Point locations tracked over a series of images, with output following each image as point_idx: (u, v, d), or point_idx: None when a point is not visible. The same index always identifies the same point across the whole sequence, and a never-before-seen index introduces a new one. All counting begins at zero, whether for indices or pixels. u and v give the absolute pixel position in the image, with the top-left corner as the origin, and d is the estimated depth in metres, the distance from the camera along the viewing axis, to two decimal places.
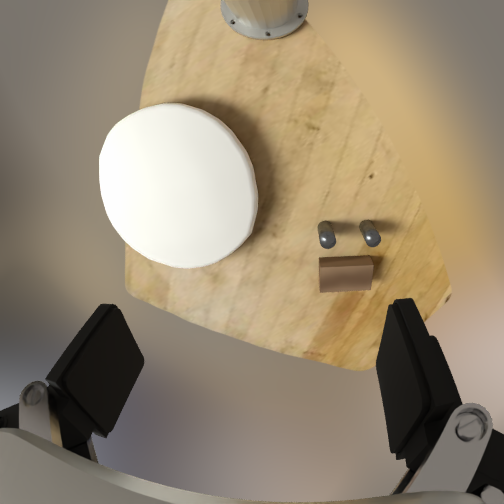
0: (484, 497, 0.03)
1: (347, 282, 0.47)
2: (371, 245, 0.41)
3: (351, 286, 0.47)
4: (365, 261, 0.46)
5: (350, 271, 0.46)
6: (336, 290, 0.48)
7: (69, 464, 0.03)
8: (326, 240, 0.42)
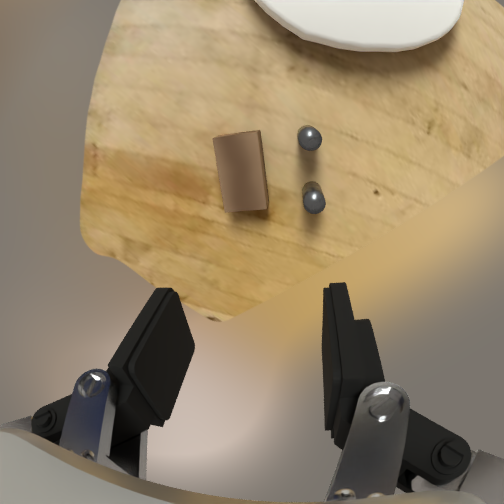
0: (415, 487, 0.04)
1: (235, 175, 0.32)
2: (306, 201, 0.31)
3: (228, 183, 0.33)
4: (266, 196, 0.34)
5: (253, 177, 0.32)
6: (219, 162, 0.32)
7: (69, 464, 0.03)
8: (311, 137, 0.27)
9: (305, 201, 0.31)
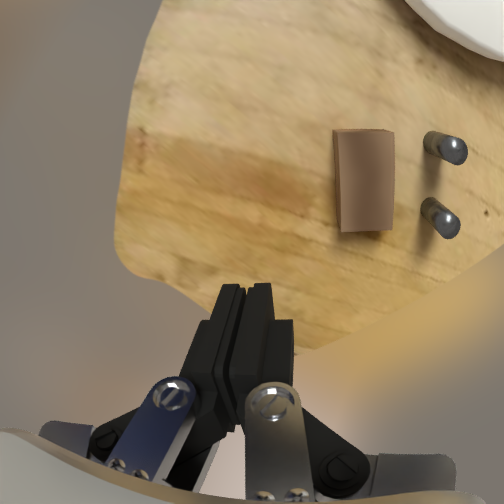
0: None
1: (361, 185, 0.23)
2: (442, 225, 0.22)
3: (351, 194, 0.24)
4: None
5: (383, 189, 0.23)
6: (343, 165, 0.23)
7: (69, 464, 0.03)
8: (458, 149, 0.18)
9: (442, 224, 0.22)
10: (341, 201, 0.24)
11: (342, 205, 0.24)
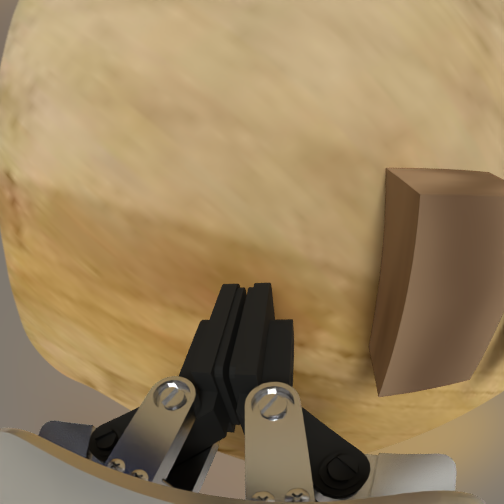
0: None
1: (445, 322, 0.08)
2: None
3: (418, 340, 0.09)
4: None
5: (482, 322, 0.08)
6: (418, 284, 0.08)
7: (69, 464, 0.03)
8: None
9: None
10: (393, 353, 0.09)
11: (393, 360, 0.10)
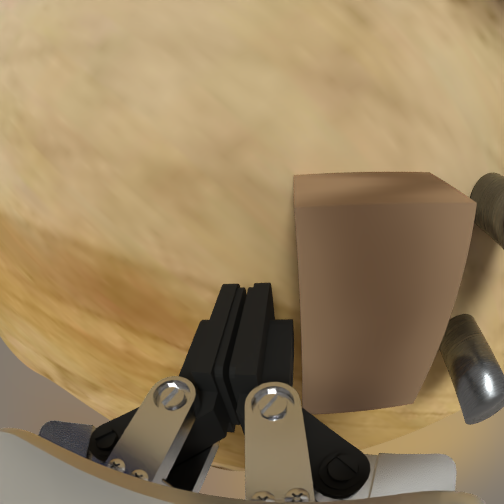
0: (317, 494, 0.05)
1: (360, 346, 0.08)
2: (475, 411, 0.07)
3: (330, 363, 0.09)
4: None
5: (414, 346, 0.08)
6: (312, 305, 0.08)
7: (69, 464, 0.03)
8: None
9: (474, 410, 0.07)
10: (304, 374, 0.09)
11: (306, 381, 0.10)
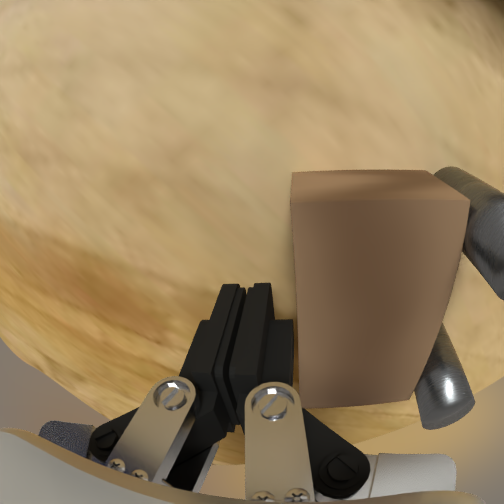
0: None
1: (356, 340, 0.09)
2: (431, 416, 0.08)
3: (326, 356, 0.09)
4: None
5: (409, 341, 0.09)
6: (309, 298, 0.08)
7: (69, 464, 0.03)
8: None
9: (430, 415, 0.08)
10: (300, 367, 0.10)
11: (302, 374, 0.10)
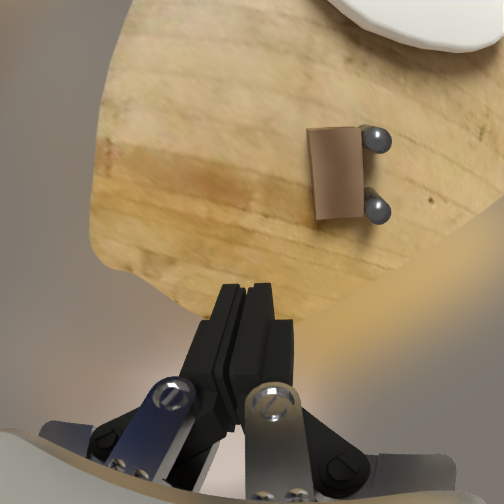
0: (317, 494, 0.05)
1: (333, 177, 0.27)
2: (371, 211, 0.26)
3: (323, 185, 0.27)
4: None
5: (352, 179, 0.26)
6: (315, 160, 0.26)
7: (69, 464, 0.03)
8: (381, 138, 0.23)
9: (370, 210, 0.26)
10: (315, 192, 0.28)
11: (316, 195, 0.28)
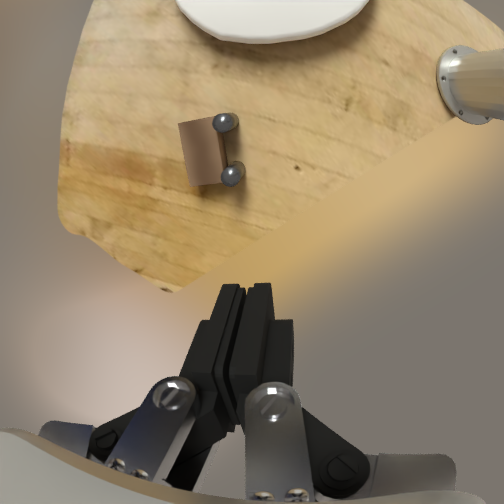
0: (317, 494, 0.05)
1: (197, 154, 0.36)
2: (222, 176, 0.36)
3: (191, 161, 0.37)
4: None
5: (212, 154, 0.36)
6: (184, 143, 0.36)
7: (69, 464, 0.03)
8: (222, 121, 0.32)
9: (222, 176, 0.36)
10: (186, 166, 0.37)
11: (187, 168, 0.38)
